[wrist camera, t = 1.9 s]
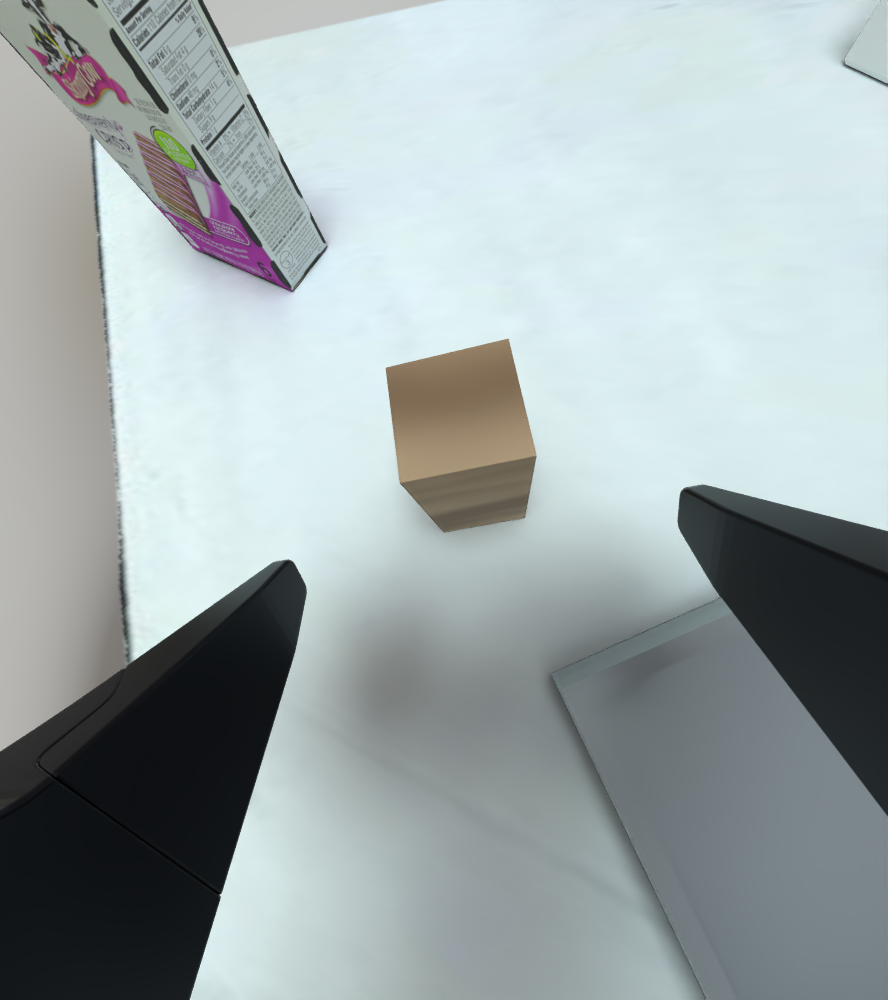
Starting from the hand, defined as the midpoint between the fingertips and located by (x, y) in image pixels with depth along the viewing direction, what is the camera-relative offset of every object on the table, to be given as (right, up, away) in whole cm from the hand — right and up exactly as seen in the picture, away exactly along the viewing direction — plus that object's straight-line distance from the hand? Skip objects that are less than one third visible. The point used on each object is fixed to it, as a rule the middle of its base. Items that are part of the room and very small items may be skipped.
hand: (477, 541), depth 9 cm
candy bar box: (-15, +20, +21) cm, 33 cm away
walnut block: (+1, +2, +13) cm, 13 cm away
